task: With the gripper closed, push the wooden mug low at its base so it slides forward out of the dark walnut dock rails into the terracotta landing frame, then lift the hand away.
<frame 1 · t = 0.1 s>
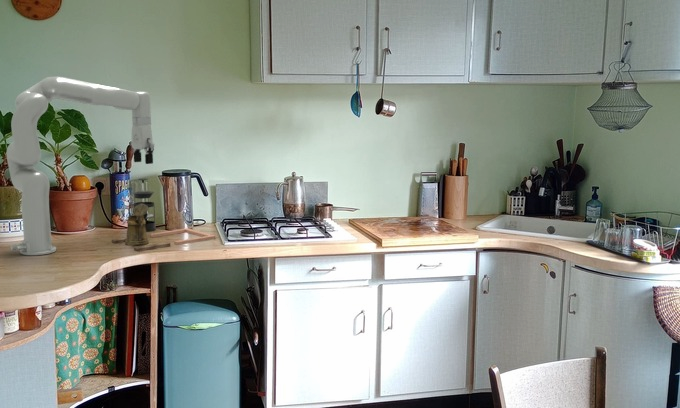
hand: (143, 162, 286), 31 cm above the table, fingers open, 9 cm apart
french press: (143, 230, 304), on the table
landing frame: (180, 238, 287), on the table
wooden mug: (138, 245, 274), on the table
walnut dock: (140, 244, 275), on the table
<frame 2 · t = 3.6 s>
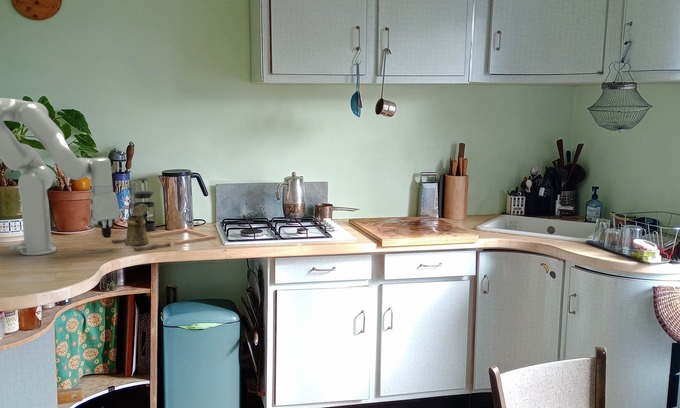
hand: (106, 237, 264), 5 cm above the table, fingers closed
nothing on the table moved.
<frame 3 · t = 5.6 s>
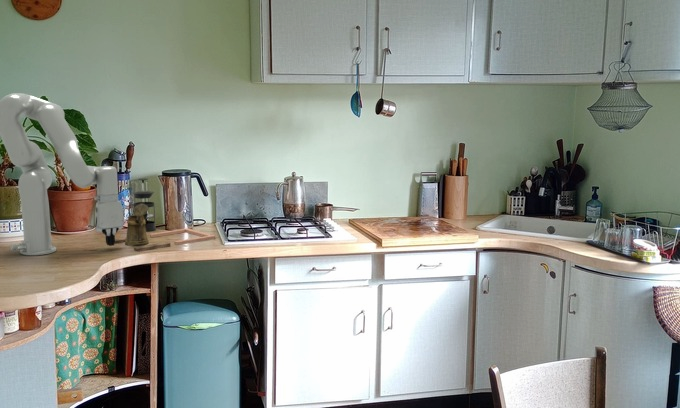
hand: (110, 245, 266), 2 cm above the table, fingers closed
nothing on the table moved.
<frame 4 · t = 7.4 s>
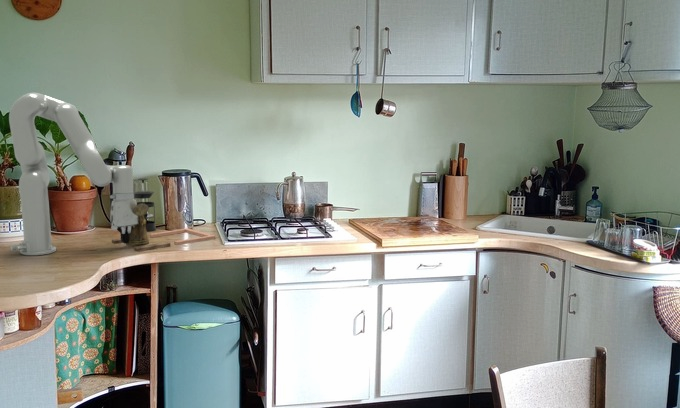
hand: (125, 242, 270), 2 cm above the table, fingers closed
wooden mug: (138, 245, 274), on the table, touching gripper
everything else where it was.
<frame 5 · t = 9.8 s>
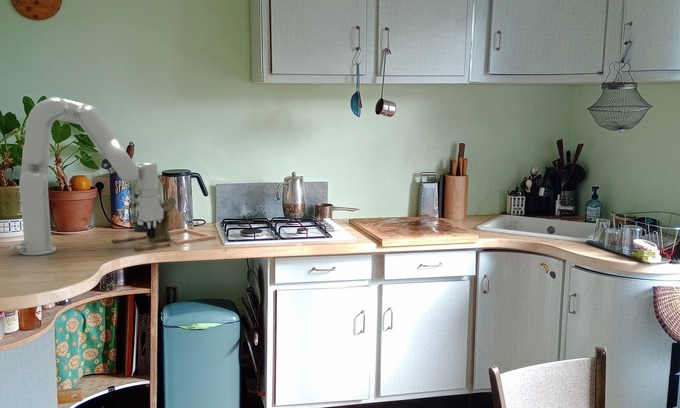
hand: (151, 237, 277), 2 cm above the table, fingers closed
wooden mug: (161, 240, 281), on the table, touching gripper
everything else where it was.
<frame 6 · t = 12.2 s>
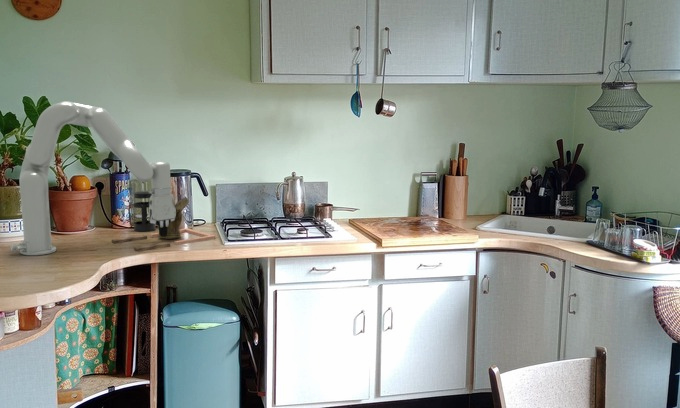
hand: (163, 236, 281), 2 cm above the table, fingers closed
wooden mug: (172, 238, 285), on the table, touching gripper
everything else where it was.
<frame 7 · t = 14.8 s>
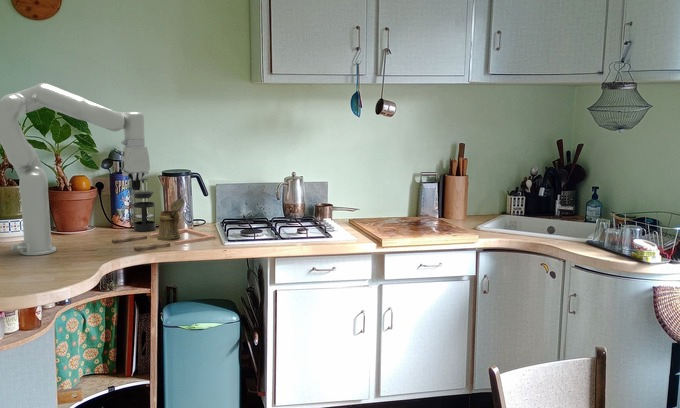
hand: (136, 189, 271), 22 cm above the table, fingers closed
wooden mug: (172, 239, 285), on the table
everything else where it was.
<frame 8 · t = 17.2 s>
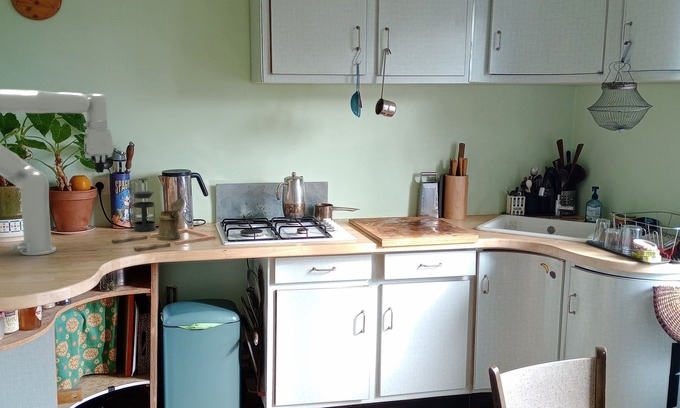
hand: (99, 172, 270), 29 cm above the table, fingers closed
nothing on the table moved.
at the end: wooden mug inside the target area (2.6 cm from its centre), on the table; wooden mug tilted 0°; the gripper is holding nothing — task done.
